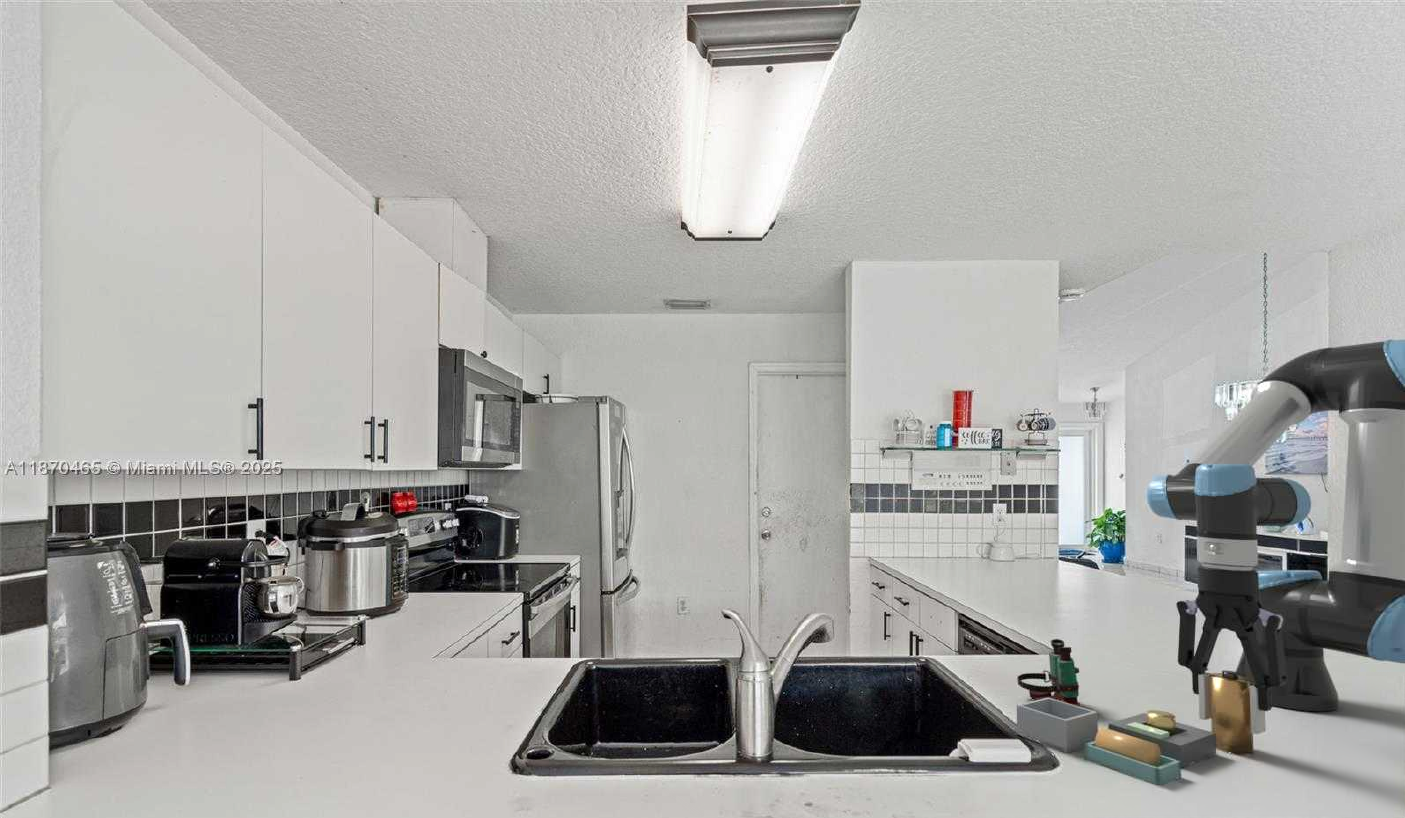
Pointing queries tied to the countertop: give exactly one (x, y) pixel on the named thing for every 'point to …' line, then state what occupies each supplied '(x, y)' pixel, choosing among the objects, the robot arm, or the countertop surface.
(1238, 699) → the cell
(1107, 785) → the countertop surface
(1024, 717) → the open box
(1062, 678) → the binoculars
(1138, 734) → the base
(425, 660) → the countertop surface
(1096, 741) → the trough
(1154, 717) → the yellow rounded lump
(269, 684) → the countertop surface
